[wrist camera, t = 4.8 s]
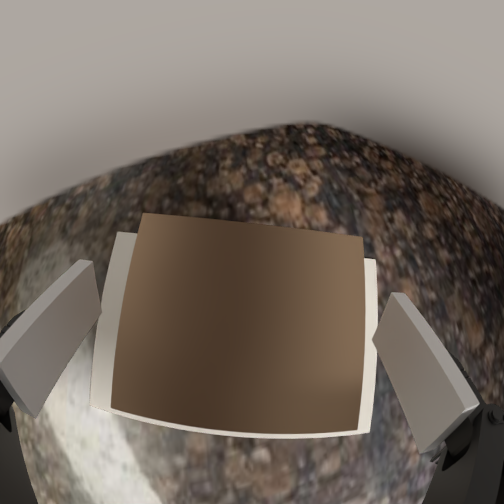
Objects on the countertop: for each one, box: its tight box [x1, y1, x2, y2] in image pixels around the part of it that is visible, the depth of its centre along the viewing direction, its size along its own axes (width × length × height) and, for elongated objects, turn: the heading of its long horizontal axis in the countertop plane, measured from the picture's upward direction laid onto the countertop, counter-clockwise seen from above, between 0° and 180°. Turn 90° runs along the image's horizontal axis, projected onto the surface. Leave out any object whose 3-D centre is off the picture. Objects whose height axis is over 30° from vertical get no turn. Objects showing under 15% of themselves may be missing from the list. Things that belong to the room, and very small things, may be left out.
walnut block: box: [111, 213, 366, 434], centre depth 11 cm, size 7×6×9 cm
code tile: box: [90, 232, 378, 438], centre depth 16 cm, size 18×12×1 cm, turn 85°
